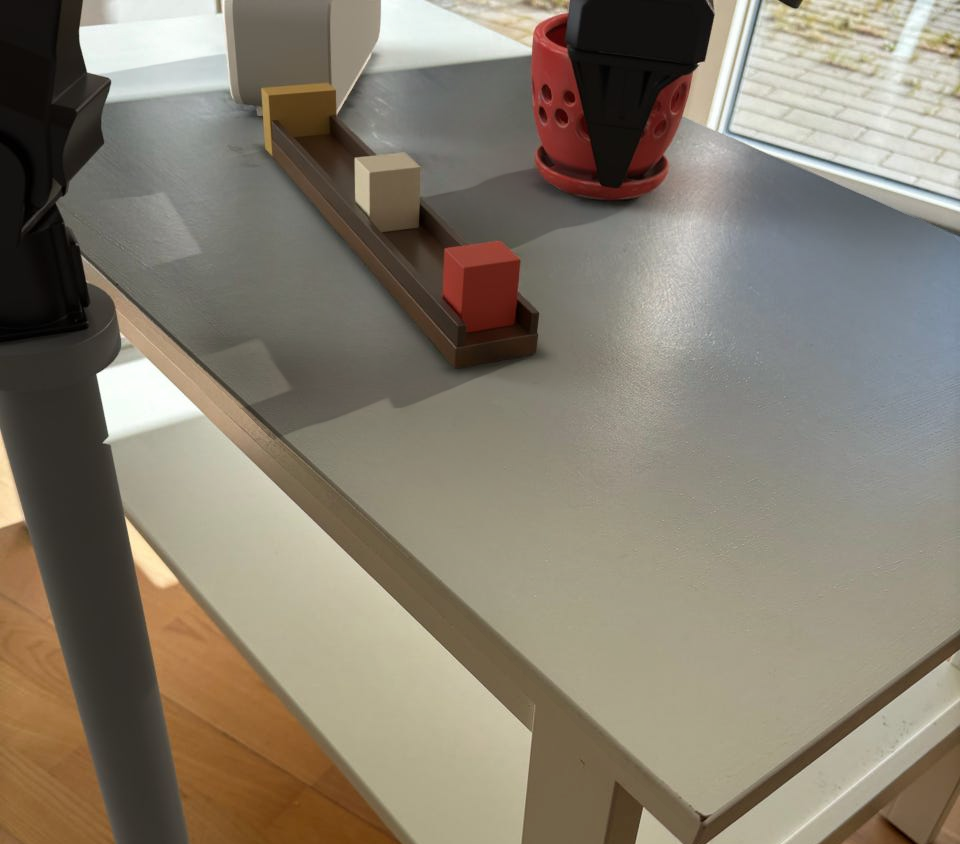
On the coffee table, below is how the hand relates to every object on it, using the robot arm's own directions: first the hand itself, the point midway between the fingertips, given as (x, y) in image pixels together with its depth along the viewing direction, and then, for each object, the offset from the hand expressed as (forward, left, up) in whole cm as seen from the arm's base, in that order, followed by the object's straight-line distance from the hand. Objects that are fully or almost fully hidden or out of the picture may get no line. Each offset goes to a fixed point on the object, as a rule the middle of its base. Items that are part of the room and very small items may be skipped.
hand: (613, 154), depth 59 cm
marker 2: (-3, +8, -13) cm, 16 cm away
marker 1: (-3, +24, -13) cm, 28 cm away
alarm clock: (+4, +61, -15) cm, 63 cm away
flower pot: (+19, +30, -15) cm, 39 cm away
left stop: (-3, +44, -15) cm, 47 cm away
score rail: (-3, +24, -15) cm, 29 cm away
